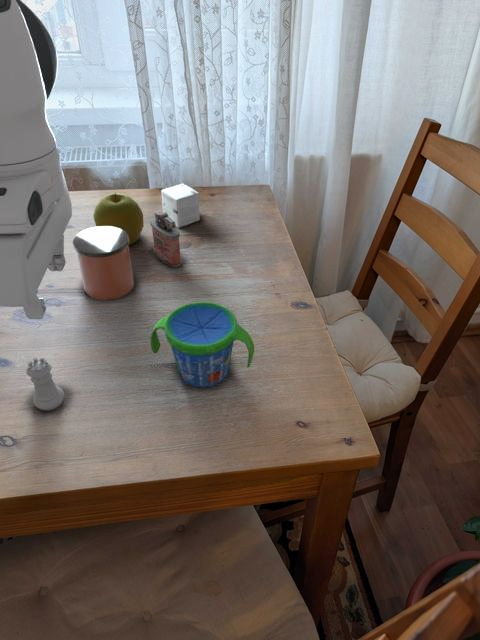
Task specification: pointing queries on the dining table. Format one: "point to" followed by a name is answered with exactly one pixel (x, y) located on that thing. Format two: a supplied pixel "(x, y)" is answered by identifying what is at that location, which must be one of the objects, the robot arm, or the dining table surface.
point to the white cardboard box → (181, 204)
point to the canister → (104, 262)
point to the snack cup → (202, 341)
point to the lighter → (166, 239)
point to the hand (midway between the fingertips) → (48, 290)
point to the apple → (120, 215)
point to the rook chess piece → (44, 385)
